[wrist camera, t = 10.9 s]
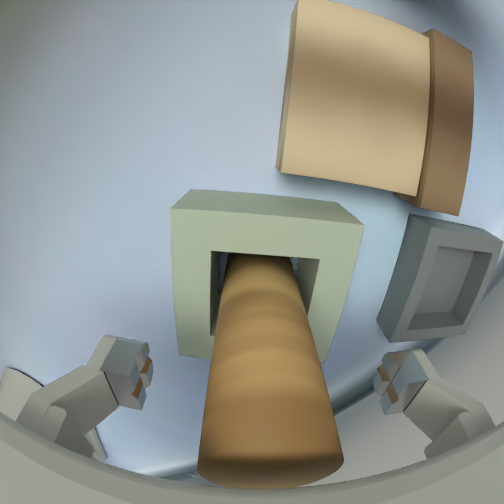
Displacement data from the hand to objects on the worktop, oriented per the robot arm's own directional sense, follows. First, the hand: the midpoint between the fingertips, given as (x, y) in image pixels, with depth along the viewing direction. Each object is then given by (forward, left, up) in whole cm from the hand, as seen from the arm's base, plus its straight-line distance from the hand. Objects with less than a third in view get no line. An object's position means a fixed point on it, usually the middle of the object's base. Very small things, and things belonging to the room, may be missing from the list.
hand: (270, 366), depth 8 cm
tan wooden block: (+10, -4, -9) cm, 14 cm away
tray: (0, -13, -8) cm, 15 cm away
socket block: (0, 0, -8) cm, 8 cm away
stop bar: (+10, -9, -8) cm, 16 cm away
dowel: (0, 0, -8) cm, 8 cm away
